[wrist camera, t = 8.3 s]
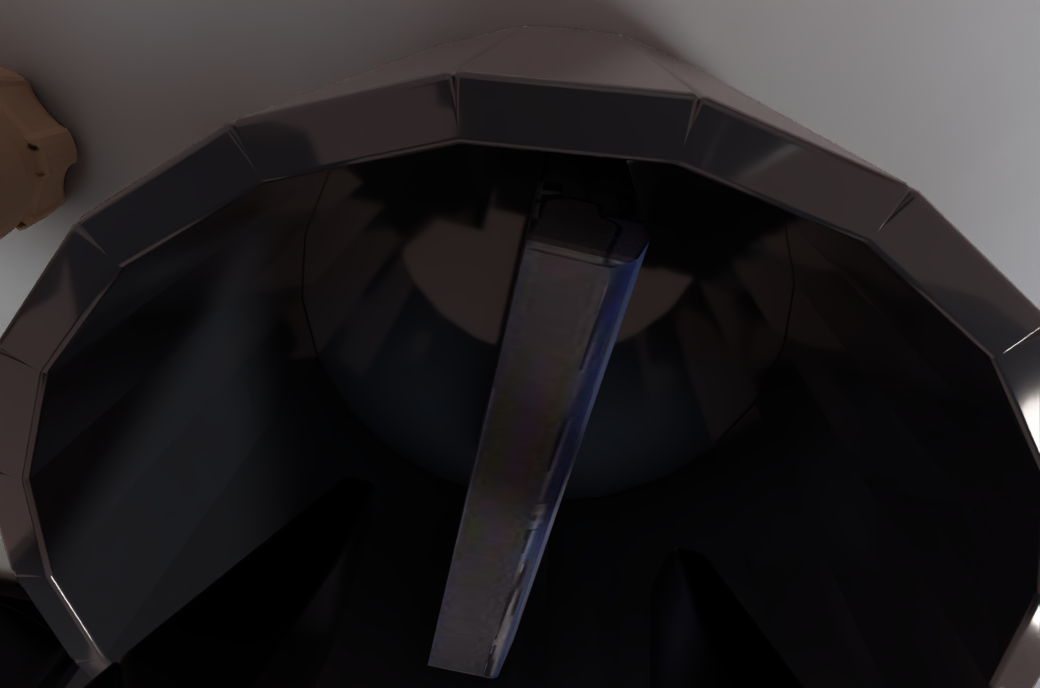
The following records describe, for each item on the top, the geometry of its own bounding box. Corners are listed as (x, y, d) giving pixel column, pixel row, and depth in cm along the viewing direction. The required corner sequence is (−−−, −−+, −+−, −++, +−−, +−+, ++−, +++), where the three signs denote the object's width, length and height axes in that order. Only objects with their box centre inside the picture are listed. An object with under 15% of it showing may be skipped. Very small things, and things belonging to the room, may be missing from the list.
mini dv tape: (531, 462, 16) (510, 685, 11) (475, 450, 16) (426, 668, 11) (623, 151, 12) (659, 268, 7) (548, 133, 12) (528, 238, 7)
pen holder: (284, 447, 17) (71, 782, 10) (304, -49, 11) (-201, -137, 4) (691, 536, 18) (777, 917, 10) (916, 110, 12) (1485, 297, 4)
